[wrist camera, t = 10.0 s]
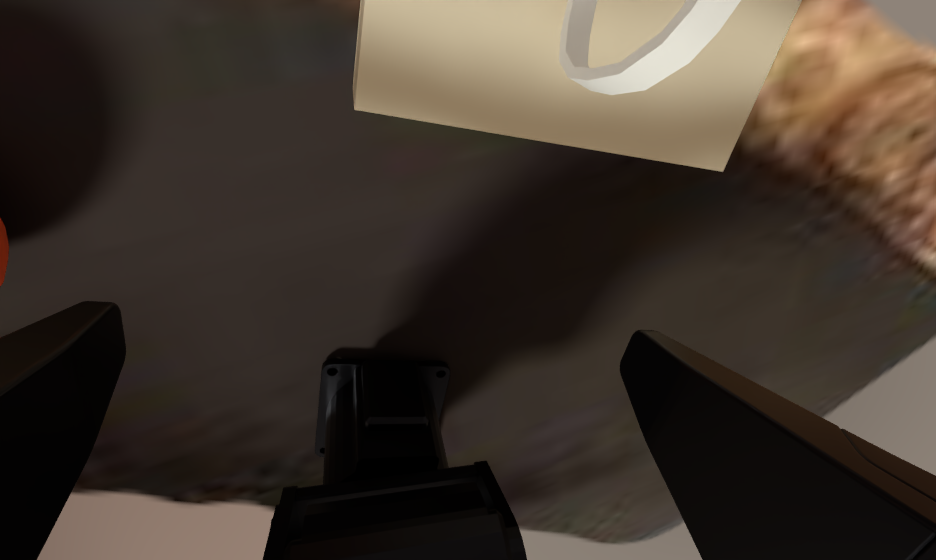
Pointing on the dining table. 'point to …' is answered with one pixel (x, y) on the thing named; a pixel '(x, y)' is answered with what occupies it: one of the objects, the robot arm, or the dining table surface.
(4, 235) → the clementine
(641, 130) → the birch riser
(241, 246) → the dining table surface
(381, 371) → the robot arm
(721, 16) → the cup
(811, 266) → the dining table surface
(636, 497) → the dining table surface
